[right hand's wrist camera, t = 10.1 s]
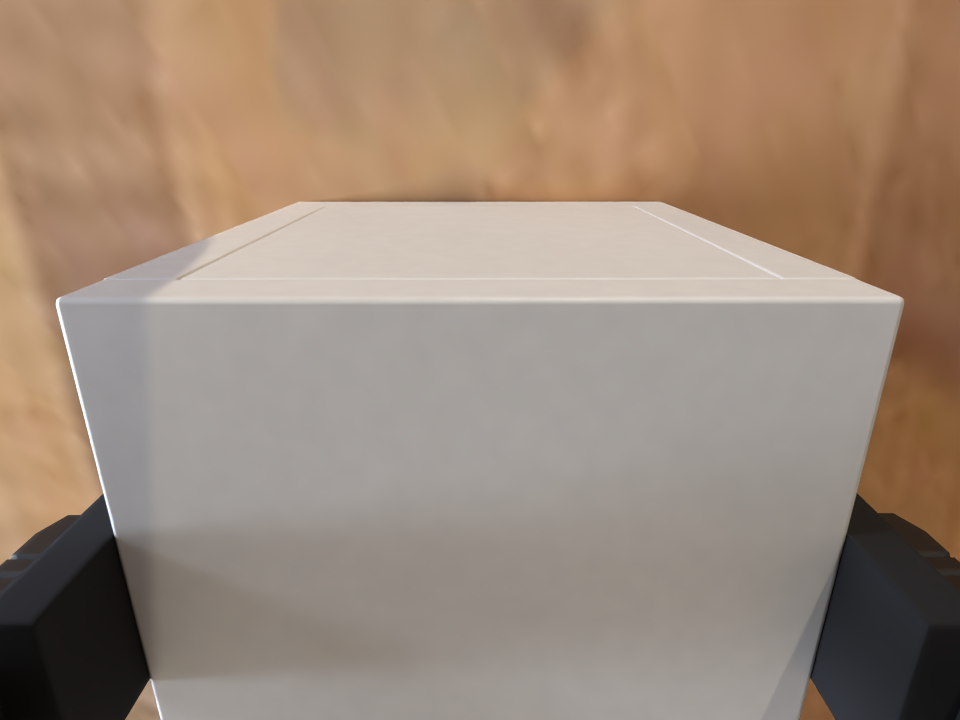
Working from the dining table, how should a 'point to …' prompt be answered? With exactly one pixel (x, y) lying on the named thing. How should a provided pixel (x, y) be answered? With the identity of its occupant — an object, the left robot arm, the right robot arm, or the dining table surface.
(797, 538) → the cabinet
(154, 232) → the dining table surface
